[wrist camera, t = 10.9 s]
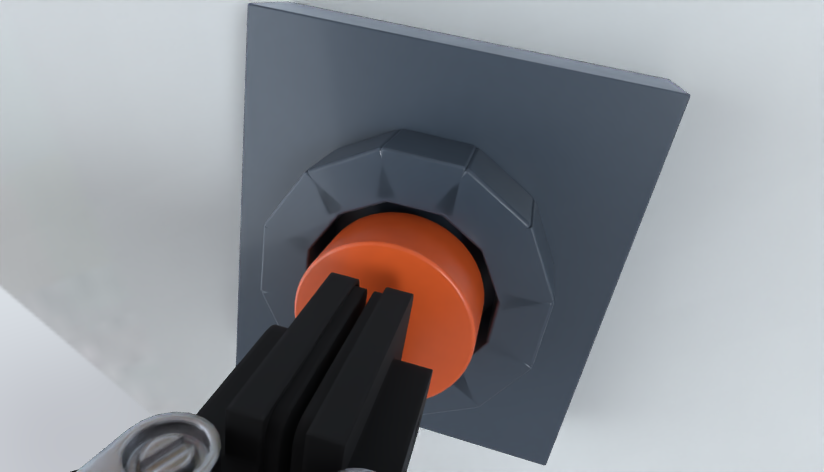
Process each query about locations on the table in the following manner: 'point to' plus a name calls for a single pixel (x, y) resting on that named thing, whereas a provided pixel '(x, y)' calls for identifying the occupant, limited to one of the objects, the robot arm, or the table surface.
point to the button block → (452, 190)
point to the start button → (411, 285)
